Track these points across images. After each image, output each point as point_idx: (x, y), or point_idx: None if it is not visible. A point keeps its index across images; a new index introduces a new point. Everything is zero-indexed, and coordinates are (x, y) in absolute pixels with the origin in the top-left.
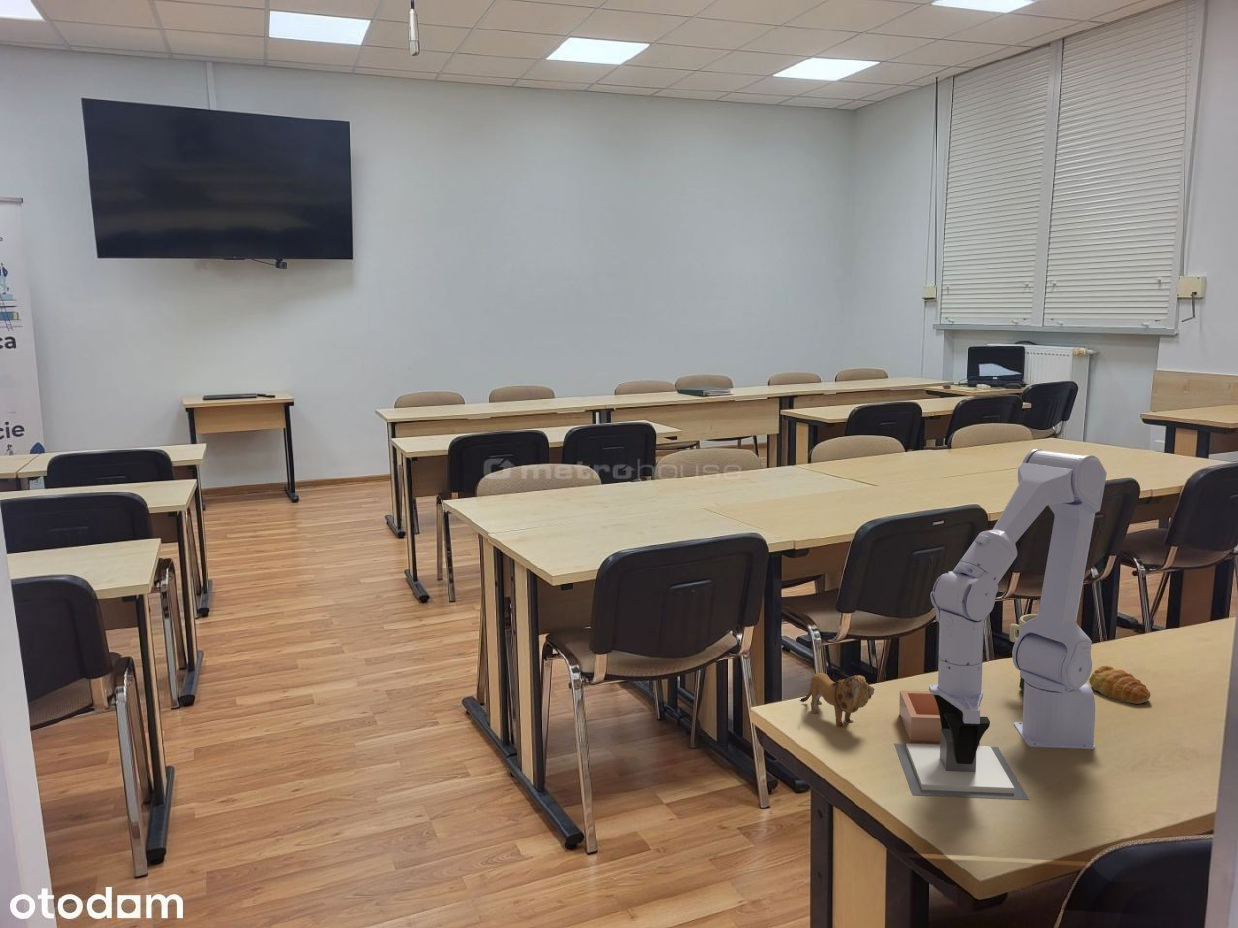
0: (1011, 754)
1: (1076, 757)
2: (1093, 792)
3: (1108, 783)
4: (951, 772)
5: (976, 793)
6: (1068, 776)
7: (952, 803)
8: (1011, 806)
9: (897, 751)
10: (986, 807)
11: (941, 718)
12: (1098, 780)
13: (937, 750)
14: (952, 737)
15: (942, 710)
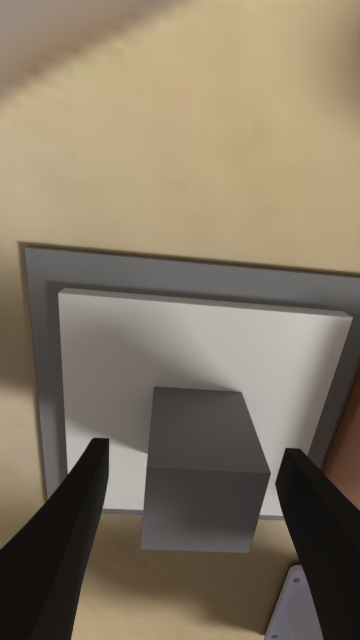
0: (272, 530)
1: (244, 610)
2: (109, 597)
3: (144, 620)
4: (144, 398)
5: (61, 422)
6: (170, 583)
7: (18, 352)
8: (29, 470)
9: (330, 277)
10: (13, 423)
11: (328, 510)
12: (154, 613)
13: (286, 397)
14: (54, 523)
15: (349, 556)
